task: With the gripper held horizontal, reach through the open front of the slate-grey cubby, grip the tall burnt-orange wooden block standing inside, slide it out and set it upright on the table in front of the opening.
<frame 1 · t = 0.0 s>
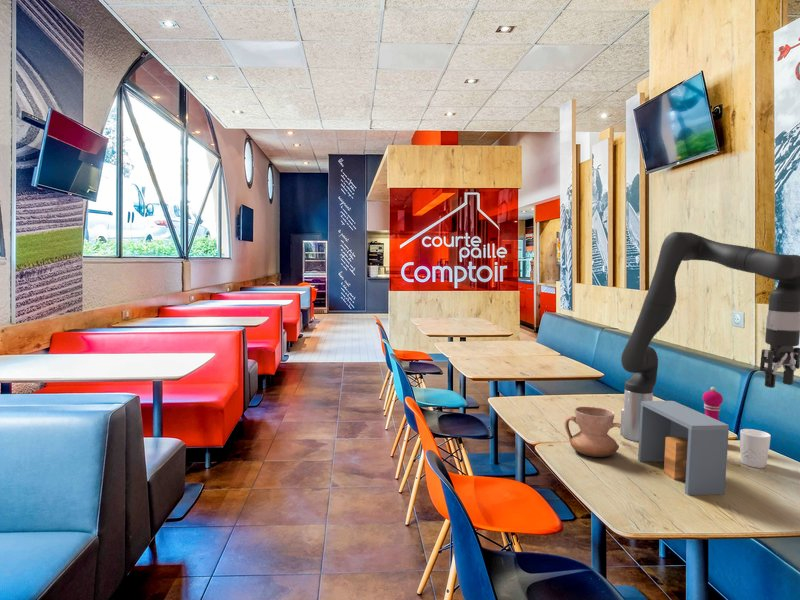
hand: (778, 385, 142), 29 cm above the table, tool pointing down, fingers open, 8 cm apart
pepper mill: (710, 443, 180), on the table
white cup: (753, 464, 161), on the table
orange block: (677, 457, 151), in the grey cubby
grey cubby: (676, 475, 151), on the table
ceramic jug: (591, 452, 169), on the table
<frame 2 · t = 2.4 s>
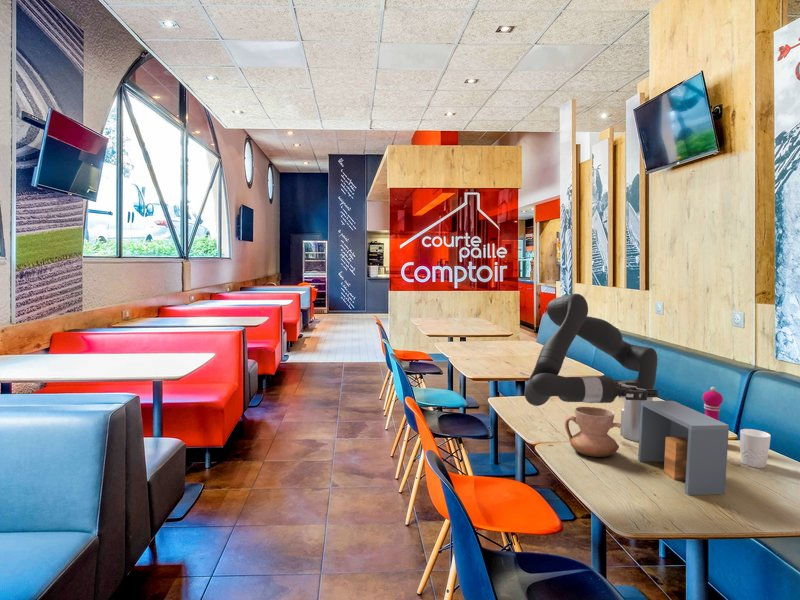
hand: (648, 389, 148), 26 cm above the table, tool horizontal, fingers open, 8 cm apart
nothing on the table moved.
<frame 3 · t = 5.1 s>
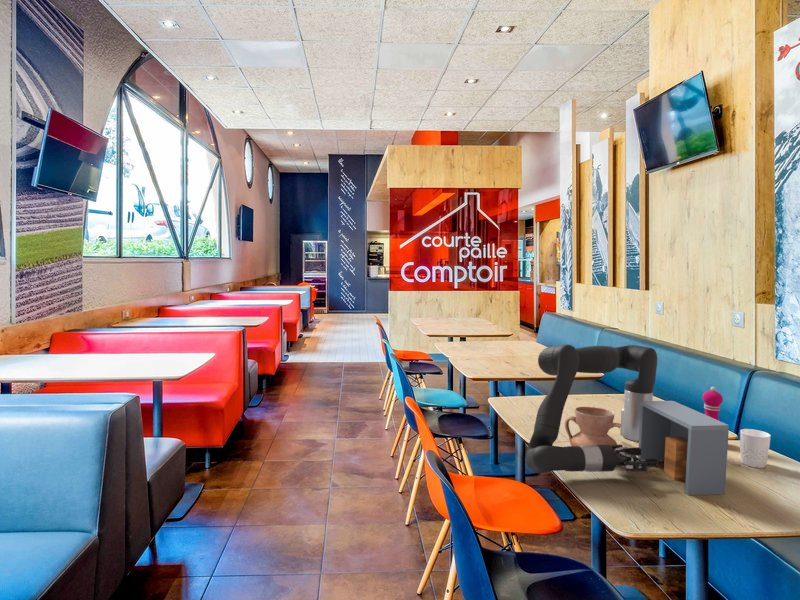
hand: (648, 456, 150), 6 cm above the table, tool horizontal, fingers open, 8 cm apart
nothing on the table moved.
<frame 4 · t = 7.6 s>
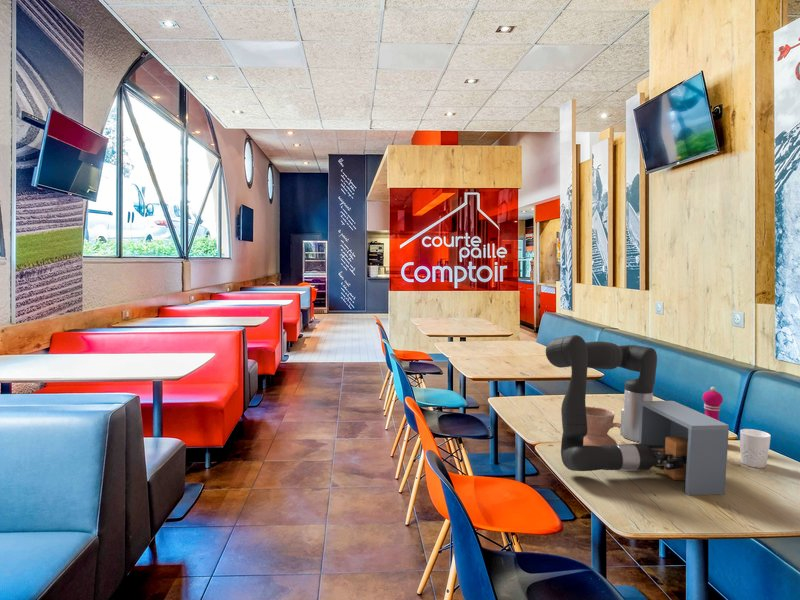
hand: (686, 455, 151), 6 cm above the table, tool horizontal, fingers closed on orange block, 5 cm apart
orange block: (677, 457, 151), in the grey cubby, touching gripper
everything else where it was.
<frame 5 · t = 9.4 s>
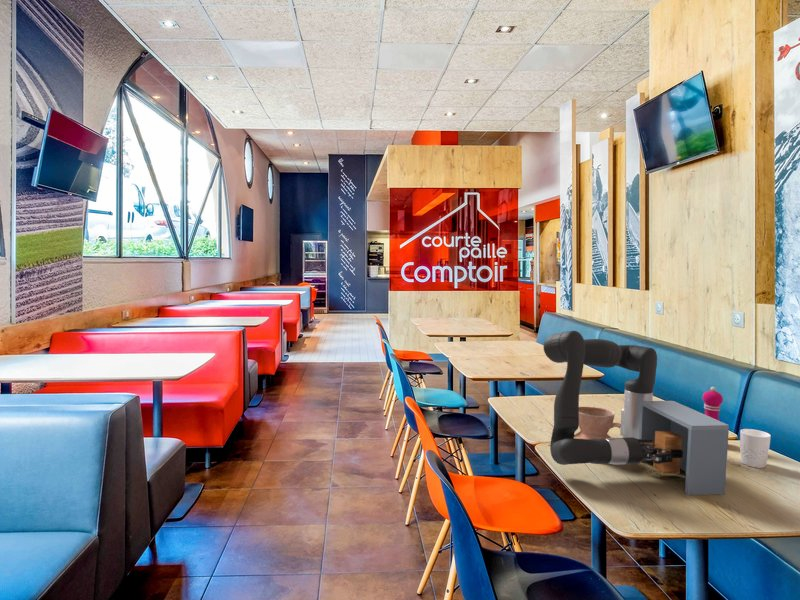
hand: (675, 450, 151), 8 cm above the table, tool horizontal, fingers closed on orange block, 5 cm apart
orange block: (667, 452, 150), point 7 cm above the table, touching gripper
everything else where it was.
when the fingers open (7 cm above the table, at t = 11.5 s): orange block stays where it is, on the table.
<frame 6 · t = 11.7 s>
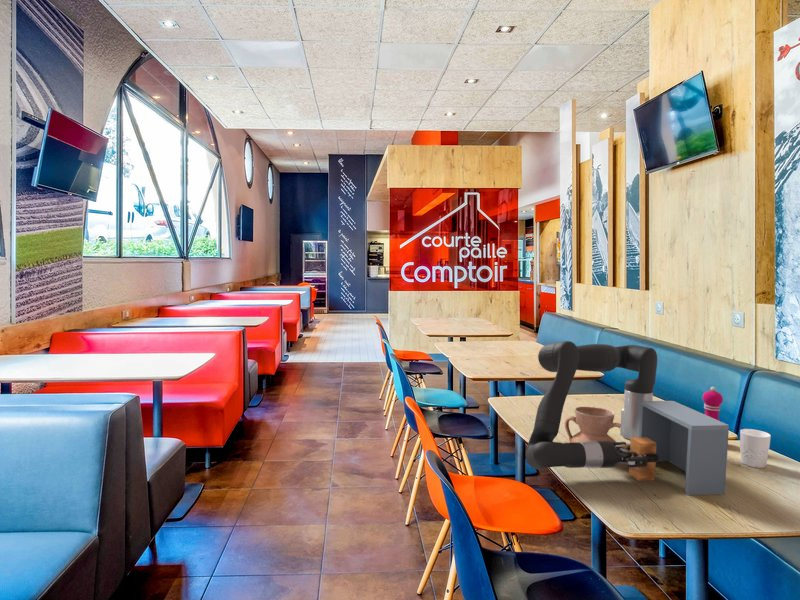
hand: (650, 453, 150), 7 cm above the table, tool horizontal, fingers open, 6 cm apart
orange block: (642, 458, 150), on the table
everything else where it was.
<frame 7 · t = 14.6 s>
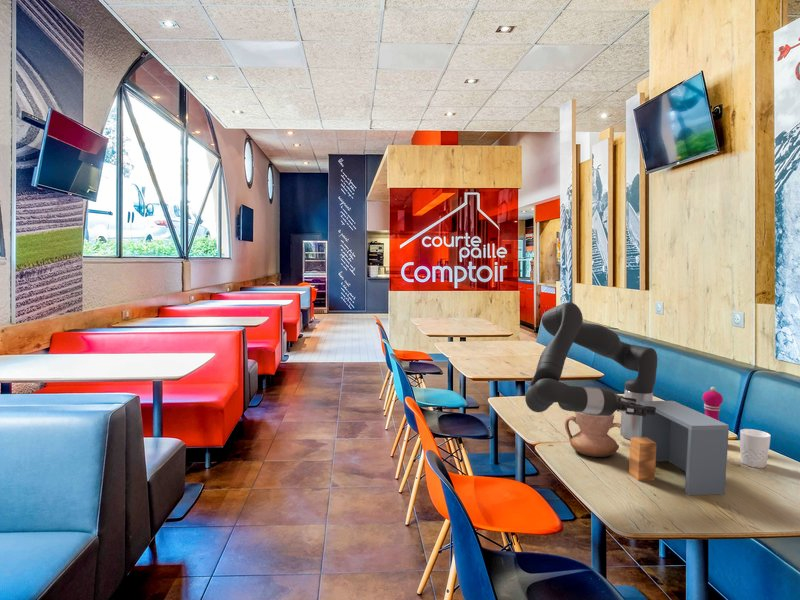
hand: (644, 406, 148), 21 cm above the table, tool horizontal, fingers open, 8 cm apart
nothing on the table moved.
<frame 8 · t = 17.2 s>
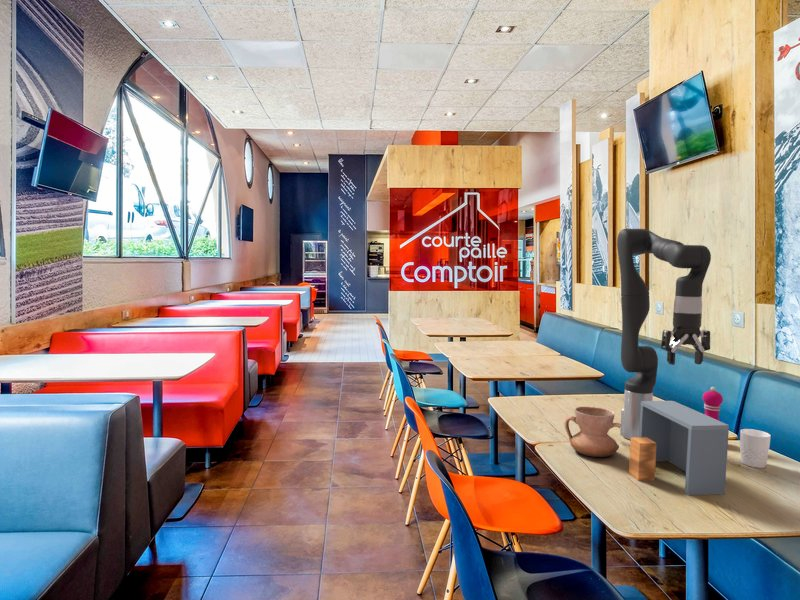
hand: (684, 364, 156), 32 cm above the table, tool pointing down, fingers open, 8 cm apart
nothing on the table moved.
at the end: orange block inside the target area on the table beside the grey cubby (1.2 cm from its centre), on the table; orange block tilted 0°; the gripper is holding nothing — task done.
